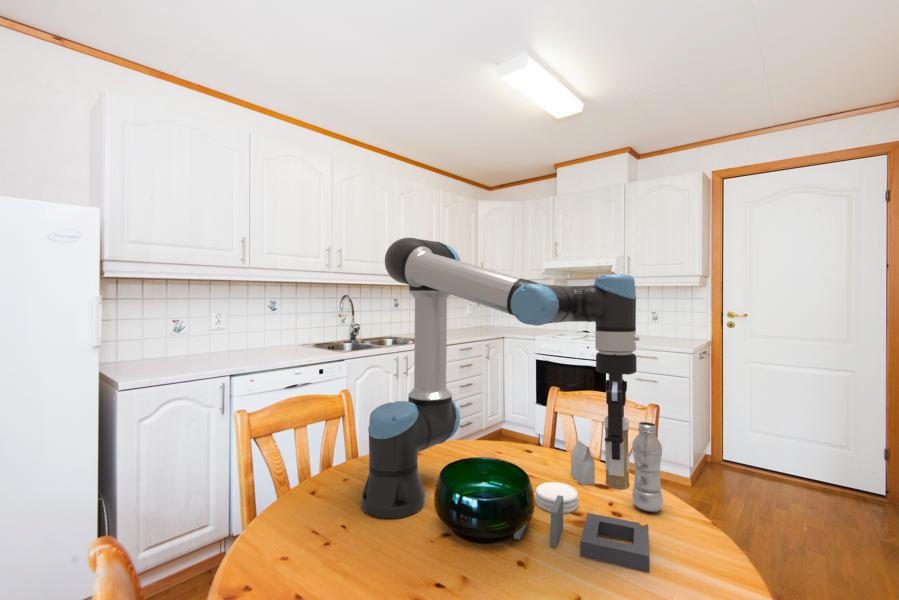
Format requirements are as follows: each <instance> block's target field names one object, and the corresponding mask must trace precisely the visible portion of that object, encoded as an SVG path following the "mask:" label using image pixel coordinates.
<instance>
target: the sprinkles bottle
mask: <svg viewBox="0 0 899 600" xmlns="http://www.w3.org/2000/svg"><path fill="white" fill-rule="evenodd" d="M603 425H604V430H605V434H604V435H605V437H604V439H605V438H608V415H607V416H605V417H604V424H603ZM629 429H630V420H629V418H627V417H625V416H624V417H623V441H624V477H622V476H615V475H609V452H608V441H605V440H604V445H605V446H604V448H605V449H604V455H605V458H604V459H605V485H606V486H607V487H608V488H610V489H612V490H613V489H614V490H618V491H623V490H628V489H629V488H630V472H629V471H630V455H629Z"/></svg>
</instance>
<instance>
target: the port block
mask: <svg viewBox="0 0 899 600" xmlns="http://www.w3.org/2000/svg"><path fill="white" fill-rule="evenodd" d="M649 534H650V531H649V524H647V523H645V522H638V521H637V522H636V521H632V520H628V519H627V520H626V519H623V518H616V517H611V516H606V515H602V514H601V515H600V514H595V513H589V512H587V513H586V518H585V521H584V525H583V530H582V534H581V538H580V541H579V542H580V548H579V549H580V558H585V559H588V560H593V561H597V562H602V563H605V564H609V565H614V566H617V567H618V566H619V567H623V568H626V569H631V570H636V571H639V572H644V573H647V574H648V573H649V574H650V535H649ZM601 537H602V538H601ZM603 537H604V538H603ZM606 538H609V539H606ZM612 539H614V540H612ZM616 540H618V541H616ZM621 541H624V542H621ZM625 542H629V543H633V544H629V543H625Z"/></svg>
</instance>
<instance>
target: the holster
mask: <svg viewBox="0 0 899 600" xmlns="http://www.w3.org/2000/svg"><path fill="white" fill-rule="evenodd" d="M527 526H528V524H527V525H526V526H524V527H523V528H521V529H520V530H519V531H517V532H516V533H515V534H514V533H513V539H515V540H521V538H522V535H523V534H524V532H525V531H526V528H527ZM563 531H564V514H563V496H560V495H558V496H557V498H556V500H555V503H554V505H553V507H552V510H551V512H550V548H554V549H558V545H559V542H560V541H561V536H562V533H563Z"/></svg>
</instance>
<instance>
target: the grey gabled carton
mask: <svg viewBox="0 0 899 600" xmlns="http://www.w3.org/2000/svg"><path fill="white" fill-rule="evenodd" d="M595 465H596V463H595V460H594V458H593V455H592V454H591V450H590V447H589V446H588V445H587V444H586V443H584V442H582V440H580V439H576V442H575V444H574V447H573V449H572V451H571V453H570V475H572V476H573V477H574V478H575V479H574V480H575V481H577V482H578V484H580V486H593V485H595V484H596V483H595V482H596V480H595V479H596V478H595V477H596V476H595V474H596V473H595V469H596V467H595ZM572 476H571V477H572ZM573 477H572V478H573Z"/></svg>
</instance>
